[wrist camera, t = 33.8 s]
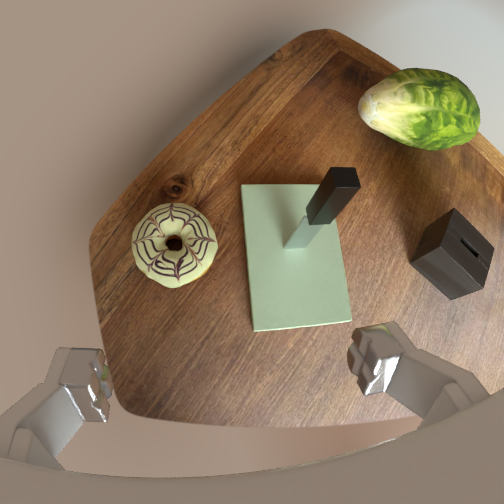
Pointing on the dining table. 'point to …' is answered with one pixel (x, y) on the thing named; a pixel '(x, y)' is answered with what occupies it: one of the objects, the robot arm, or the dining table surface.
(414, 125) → the lettuce
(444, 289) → the knife block
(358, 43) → the dining table surface
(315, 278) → the cutting board
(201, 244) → the decorated donut
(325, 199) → the knife
